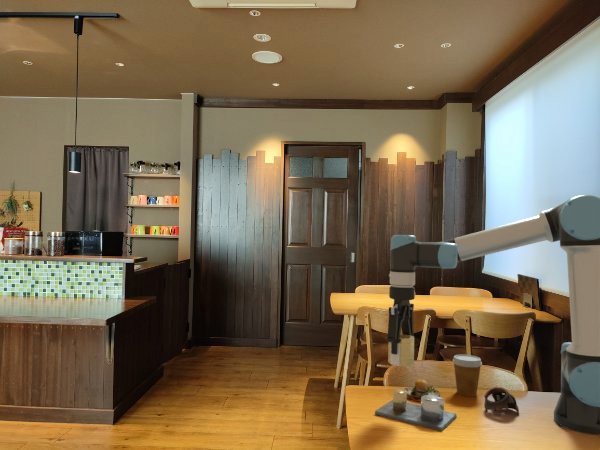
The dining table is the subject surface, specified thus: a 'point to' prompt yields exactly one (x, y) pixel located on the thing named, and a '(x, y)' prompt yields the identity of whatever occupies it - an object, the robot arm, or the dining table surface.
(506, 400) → the pottery mug
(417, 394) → the burger
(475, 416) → the dining table surface
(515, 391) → the dining table surface
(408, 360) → the sleeve
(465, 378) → the disposable coffee cup
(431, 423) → the plate
